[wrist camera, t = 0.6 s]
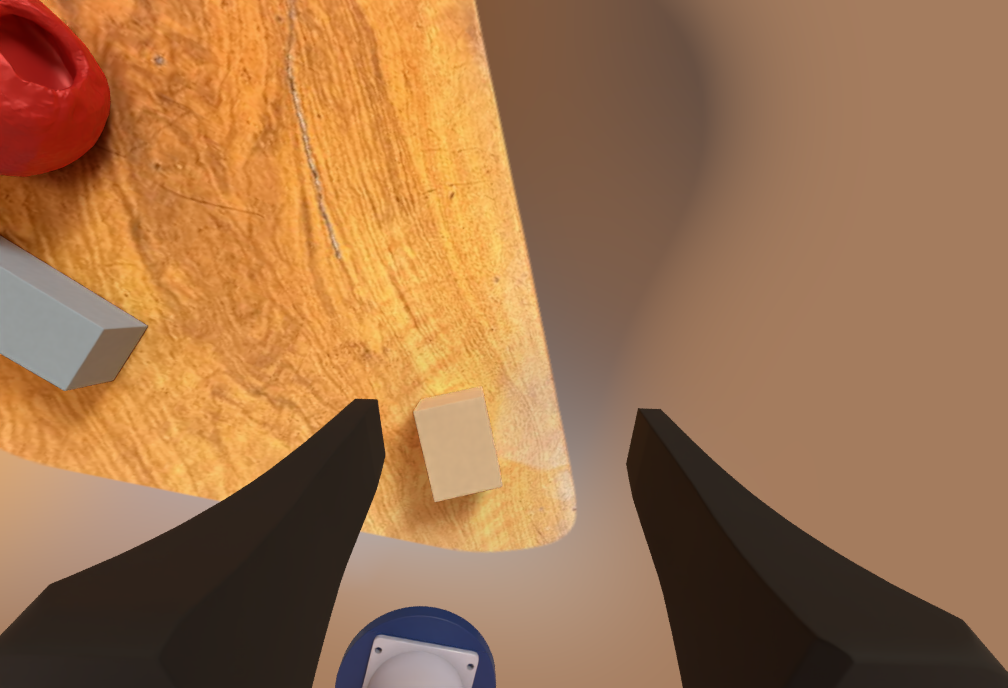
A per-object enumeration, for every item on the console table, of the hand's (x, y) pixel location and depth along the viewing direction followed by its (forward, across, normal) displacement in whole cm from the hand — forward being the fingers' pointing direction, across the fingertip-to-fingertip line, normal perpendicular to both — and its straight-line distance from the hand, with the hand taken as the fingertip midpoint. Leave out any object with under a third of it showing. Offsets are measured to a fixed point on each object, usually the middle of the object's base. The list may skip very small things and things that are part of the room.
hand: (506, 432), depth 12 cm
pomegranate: (+21, +29, -7) cm, 36 cm away
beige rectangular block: (+14, +3, +12) cm, 19 cm away
